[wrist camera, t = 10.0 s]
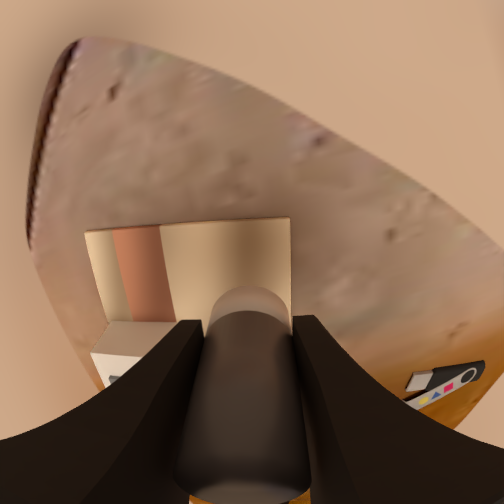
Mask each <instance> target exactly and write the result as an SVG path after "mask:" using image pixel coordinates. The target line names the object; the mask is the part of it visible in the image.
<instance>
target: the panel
mask: <svg viewBox="0 0 504 504" xmlns="http://www.w3.org/2000/svg"><path fill="white" fill-rule="evenodd" d="M84 234H85V239H86V243H87V248H88V252H89V256H90V260H91V265H92V268H93V272H94V276H95V280H96V284H97V287H98V291H99V294H100V298H101V301H102V304H103V308H104V311H105V314H106V317H107V320H108V323H109V324H110V322H111V321H132V322H179V321H180V320H192V319H201V321H202V326H203V332H204V338H205V335H206V331H207V327H208V323H209V320H210V316H211V312H212V308H213V306H214V304H215V302H216V301H217V300H218V298H219V297H220V296H221V295H223V294H224V293H225V292H227V291H229V290H231V289H233V288H236V287H240V286H259V287H263V288H266V289H268V290H270V291H272V292H274V293H275V294H277V295H278V296H279V297H280V298H281V299H282V300H283V302H284V303H285V305H286V307H287V309H288V313H289V319H290V326H291V251H290V218H289V217H277V218H256V219H237V220H220V221H204V222H189V223H174V224H161V225H148V226H136V227H124V228H113V229H102V230H91V231H86V232H85V233H84Z"/></svg>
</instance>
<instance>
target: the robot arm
mask: <svg viewBox="0 0 504 504" xmlns="http://www.w3.org/2000/svg"><path fill="white" fill-rule="evenodd" d="M292 338H293V345H294V351H295V358H296V365H297V372H298V379H299V385H300V392H301V400H302V407H303V414H304V421H305V429H306V437H307V444H308V452H309V460H310V468H311V477H312V483H311V486H310V497H311V504H504V449H503V448H500V447H497V446H494V445H491V444H487V443H484V442H481V441H478V440H476V439H473V438H470V437H468V436H466V435H464V434H461V433H459V432H457V431H455V430H452V429H450V428H448V427H446V426H444V425H442V424H440V423H438V422H436V421H434V420H433V419H431V418H429V417H428V416H426V415H424V414H423V413H421V412H419V411H417V410H416V409H414V408H412V407H411V406H409V405H408V404H406V403H405V402H403V401H402V400H400V399H399V398H398V397H396V396H395V395H394V394H392V393H391V392H390V391H388V390H387V389H386V388H384V387H383V386H382V385H381V384H379V383H378V382H377V381H376V380H375V379H374V378H372V377H371V376H370V375H369V374H368V373H367V372H366V371H365V370H364V369H363V368H362V367H361V366H359V365H358V364H357V363H356V362H355V361H354V360H353V359H352V358H351V356H350V355H349V354H348V353H347V352H346V351H345V350H344V349H343V348H342V347H341V346H340V345H339V344H338V343H337V342H336V340H335V339H334V338H333V337H332V336H331V335H330V333H329V332H328V331H327V330H326V329H325V327H324V326H323V325H322V324H321V322H320V321H319V320H318V319H317V318H316V317H315V316H314V315H303V316H293V325H292ZM204 339H205V338H204V332H203V326H202V321H201V319H192V320H180V321H179V322H178V323H177V324H176V325H175V326H174V327H173V328H172V329H171V330H170V331H169V332H168V333H167V334H166V335H165V336H164V337H163V338H162V339H161V340H160V341H159V342H158V343H157V344H156V345H155V346H154V347H153V348H152V349H151V350H150V351H149V352H148V353H147V354H146V355H145V356H144V357H142V358H141V359H140V360H139V361H138V362H137V363H136V364H134V365H133V366H132V367H131V368H130V369H129V370H128V371H126V372H125V373H124V374H123V375H122V376H121V377H119V378H118V379H117V380H116V381H114V382H113V383H112V384H111V385H109V386H108V387H107V388H105V389H104V390H102V391H101V392H100V393H98V394H97V395H95V396H94V397H92V398H91V399H89V400H88V401H86V402H85V403H83V404H81V405H80V406H78V407H76V408H74V409H73V410H71V411H69V412H67V413H65V414H64V415H62V416H60V417H58V418H57V419H54V420H52V421H50V422H48V423H46V424H44V425H42V426H39V427H37V428H35V429H32V430H30V431H27V432H25V433H22V434H19V435H16V436H14V437H10V438H7V439H3V440H0V504H189V495H190V494H189V493H187V492H185V491H184V490H182V489H181V488H180V487H179V486H178V485H177V484H176V483H175V481H174V479H173V470H174V466H175V461H176V457H177V452H178V448H179V443H180V439H181V435H182V430H183V426H184V422H185V417H186V413H187V409H188V405H189V400H190V396H191V392H192V388H193V384H194V380H195V376H196V371H197V367H198V363H199V359H200V355H201V351H202V347H203V343H204Z"/></svg>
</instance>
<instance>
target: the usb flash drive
mask: <svg viewBox="0 0 504 504" xmlns="http://www.w3.org/2000/svg"><path fill="white" fill-rule="evenodd" d="M484 369H485V362H484V360H482V361H476V362H471V363H465V364H459V365H452V366H445V367H438V368H434V369H432V370H429V371H421V372H413V374H414V375H413V377H412V379H411V381H410V383H409V385H408V387H407V388H405V390H406V392H408V391H416V390H423V389H425V391H428V390H430V391H428V392H426V393H424V394H422V395H420V396H418V397H416V398H414V399H412V400H410V401H408V402H405V401H404V400H403V399H402V401H403V402H405V403H406V404H408V405H409V406H411V407H412V408H414V409H416V410H418V409H420V408H422V407H424V406H426V405H428V404H430V403H432V402H434V401H436V400H438V399H440V398H441V397H443V396H445V395H447V394H449V393H451V392H452V391H454V390H456V389H458V388H459V387H461V386H463V385H464V384H466V383H468V382H473V381H476V380H478V379H479V378H480V376H481V375H482V373H483V371H484Z"/></svg>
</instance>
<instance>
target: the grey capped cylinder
mask: <svg viewBox="0 0 504 504" xmlns="http://www.w3.org/2000/svg"><path fill="white" fill-rule="evenodd" d="M173 479H174V481H175V483H176V484H177V485H178V486H179V487H180V488H181V489H182V490H184V491H185V492H187V493H189V494H190V495H192V496H194V497H197V498H199V499H202V500H204V501H208V502H211V503H215V504H280V503H283V502H287V501H290V500H292V499H294V498H297V497H298V496H300V495H302V494H303V493H304V492H306V491H307V490H308V489H309V487H310V486H311V483H312V477H311V468H310V460H309V452H308V444H307V437H306V429H305V421H304V414H303V407H302V400H301V392H300V385H299V379H298V372H297V365H296V358H295V351H294V345H293V338H292V332H291V326H290V319H289V313H288V309H287V307H286V305H285V303H284V302H283V300H282V299H281V298H280V297H279V296H278V295H277V294H275V293H274V292H272V291H270V290H268V289H266V288H263V287H259V286H240V287H236V288H233V289H231V290H229V291H227V292H225V293H224V294H223V295H221V296H220V297H219V298H218V300H217V301H216V302H215V304H214V306H213V308H212V312H211V316H210V320H209V323H208V327H207V331H206V335H205V339H204V343H203V347H202V351H201V355H200V359H199V363H198V367H197V371H196V376H195V380H194V384H193V388H192V392H191V396H190V400H189V405H188V409H187V413H186V417H185V422H184V426H183V430H182V435H181V439H180V443H179V448H178V452H177V457H176V461H175V466H174V470H173Z"/></svg>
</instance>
